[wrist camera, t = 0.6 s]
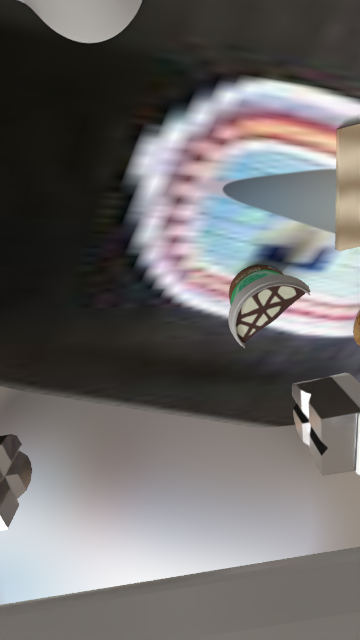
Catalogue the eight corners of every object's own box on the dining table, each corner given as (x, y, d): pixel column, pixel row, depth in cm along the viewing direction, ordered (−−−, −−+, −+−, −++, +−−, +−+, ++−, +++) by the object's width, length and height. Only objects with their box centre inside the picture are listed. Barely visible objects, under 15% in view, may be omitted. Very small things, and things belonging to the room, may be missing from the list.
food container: (264, 239, 46) (285, 260, 37) (288, 266, 48) (314, 292, 39) (205, 294, 50) (212, 324, 41) (230, 317, 52) (241, 350, 43)
